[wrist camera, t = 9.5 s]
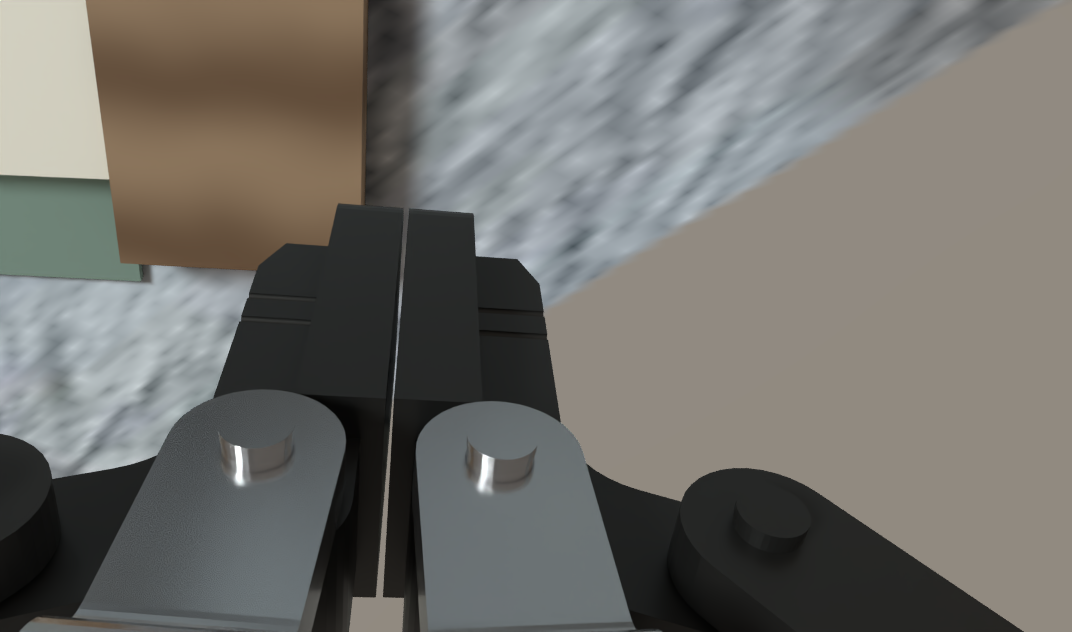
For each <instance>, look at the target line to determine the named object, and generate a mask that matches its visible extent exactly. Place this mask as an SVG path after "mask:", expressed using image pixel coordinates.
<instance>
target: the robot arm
mask: <svg viewBox="0 0 1072 632" xmlns="http://www.w3.org/2000/svg"><path fill="white" fill-rule="evenodd" d="M402 232H403V208H393V207H380V206H367V205H354V204H341V203H338V205H337V208H336V213H335V217H334V222H333V226H332V231H331V235H330V240H329V244H328V246H319V245H305V244H291V243H286V244H285V245H283V246H282V247H281V248H280V249H278V250H277V251H276V252H275V253H273V254H272V255H271V256H270V257H268V258H267V259H266V260H265V261H263V262H262V263H261V264H260V265H259V266H258V268H257V271H256V274H255V277H254V280H253V283H252V286H251V289H250V292H249V298H247V301H246V304H245V307H244V310H243V313H242V315H241V322H240V321H239V324H238V327H237V330H236V333H235V336H234V339H233V342H232V345H231V348H230V351H229V354H228V357H227V359H226V362H225V365H224V368H223V371H222V374H221V377H220V380H219V383H218V386H217V389H216V392H215V395H214V398H213V399H211V400H208V401H206V402H204V403H202V404H200V405H198V406H196V407H194V408H193V409H191V410H190V411H189V412H187V413H186V414H185V415H183V416H182V417H181V418H180V419H179V420H178V421H177V422H176V423H175V424H174V426H173V427H172V429H171V430H170V432H169V434H168V435H167V437H166V439H165V441H164V443H163V445H162V447H161V449H160V451H159V453H158V455H157V456H154V457H152V458H150V459H147V460H144V461H141V462H138V463H135V464H131V465H127V466H123V467H118V468H114V469H108V470H102V471H97V472H91V473H85V474H79V475H73V476H68V477H62V478H56V479H52V475H51V471H50V467H49V464H48V462H47V460H46V459H45V457H44V456H43V454H42V453H41V452H39V451H38V450H37V449H36V448H35V447H34V446H32V445H30V444H29V443H27V442H25V441H23V440H20V439H17V438H15V437H12V436H8V435H3V434H0V632H349V626H350V615H351V608H352V598H353V597H376V587H377V575H378V564H379V552H380V540H381V528H382V516H383V503H384V492H385V480H386V468H387V455H388V444H389V431H390V419H391V407H392V395H393V383H394V370H395V356H396V340H397V323H398V305H399V287H400V269H401V250H402ZM543 312H544V311H543V304H542V298H541V291H540V285H539V283H538V282H537V281H536V280H535V279H534V277H533V276H532V275H531V274H530V273H529V272H528V271H527V270H526V269H525V267H524V266H523V265H522V264H521V263H520V262H519V261H518V260H517V259H506V258H492V257H478V256H476V253H475V231H474V215H473V213H461V212H448V211H435V210H422V209H409V219H408V231H407V243H406V256H405V268H404V281H403V293H402V306H401V318H400V331H399V343H398V356H397V368H396V381H395V393H394V409H393V427H392V445H391V463H390V481H389V499H388V518H387V536H386V553H385V571H384V589H383V597H395V598H404V612H403V613H404V614H403V631H402V632H1023V631H1022V630H1020V629H1019V628H1017V627H1016V626H1014V625H1013V624H1012V623H1010V622H1009V621H1007V620H1006V619H1004V618H1003V617H1001V616H1000V615H998V614H997V613H995V612H994V611H992V610H991V609H989V608H988V607H986V606H985V605H983V604H982V603H980V602H979V601H977V600H976V599H974V598H973V597H971V596H970V595H968V594H967V593H965V592H964V591H963V590H961V589H960V588H958V587H957V586H955V585H954V584H952V583H950V582H949V581H948V580H946V579H945V578H943V577H942V576H940V575H939V574H937V573H936V572H934V571H933V570H931V569H930V568H928V567H927V566H925V565H924V564H922V563H921V562H919V561H918V560H917V559H915V558H914V557H912V556H910V555H909V554H908V553H906V552H905V551H903V550H902V549H900V548H899V547H897V546H896V545H894V544H893V543H891V542H890V541H888V540H887V539H885V538H884V537H882V536H881V535H879V534H878V533H876V532H875V531H873V530H872V529H870V528H869V527H868V526H866V525H864V524H863V523H862V522H860V521H859V520H857V519H856V518H854V517H852V516H851V515H850V514H848V513H847V512H845V511H844V510H842V509H841V508H839V507H838V506H836V505H835V504H833V503H832V502H830V501H829V500H827V499H826V498H824V497H823V496H822V495H820V494H819V493H817V492H815V491H814V490H812V489H810V488H809V487H807V486H805V485H803V484H801V483H799V482H797V481H795V480H793V479H791V478H788V477H785V476H782V475H779V474H776V473H772V472H768V471H764V470H757V469H749V468H732V469H725V470H719V471H716V472H712V473H709V474H707V475H705V476H703V477H701V478H699V479H698V480H697V481H695V482H694V483H693V484H692V485H691V486H690V487H689V488H688V489H687V491H686V492H685V494H684V496H683V499H682V501H681V502H680V501H677V500H673V499H669V498H666V497H662V496H659V495H655V494H651V493H648V492H644V491H640V490H637V489H634V488H631V487H628V486H625V485H622V484H620V483H618V482H616V481H613V480H611V479H609V478H607V477H605V476H604V475H602V474H600V473H599V472H597V471H595V470H594V469H593V468H591V467H590V466H589V465H587V464H586V461H585V458H584V455H583V451H582V449H581V447H580V444H579V442H578V441H577V440H576V438H575V437H574V435H573V434H572V433H571V432H570V431H569V430H568V429H567V428H566V427H565V426H564V425H563V424H561V421H560V414H559V408H558V401H557V395H556V388H555V382H554V375H553V369H552V363H551V357H550V350H549V343H548V340H547V330H546V324H545V318H544V317H543Z"/></svg>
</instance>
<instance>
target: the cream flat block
mask: <svg viewBox="0 0 1072 632" xmlns="http://www.w3.org/2000/svg"><path fill="white" fill-rule="evenodd" d="M0 175H17V176H40V177H64V178H87V179H109V173H108V166H107V158H106V151H105V143H104V136H103V128H102V121H101V113H100V106H99V98H98V91H97V83H96V76H95V68H94V61H93V53H92V46H91V38H90V31H89V23H88V16H87V8H86V1H85V0H0Z"/></svg>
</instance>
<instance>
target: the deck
mask: <svg viewBox="0 0 1072 632" xmlns="http://www.w3.org/2000/svg"><path fill="white" fill-rule="evenodd" d="M85 1H86V8H87V16H88V23H89V31H90V38H91V46H92V53H93V61H94V68H95V76H96V83H97V91H98V98H99V106H100V113H101V121H102V128H103V136H104V143H105V151H106V158H107V166H108V173H109V181H110V188H111V196H112V203H113V211H114V218H115V226H116V233H117V241H118V248H119V256H120V263H125V264H143V265H162V266H181V267H200V268H219V269H237V270H256V271H257V268H258V266H259V265H260V264H261V263H262V262H263V261H265V260H266V259H267V258H268V257H270V256H271V255H272V254H273V253H275V252H276V251H277V250H278V249H280V248H281V247H282V246H283V245H285V244H286V243H291V244H305V245H319V246H328V244H329V240H330V235H331V231H332V226H333V222H334V217H335V213H336V208H337V205H338V203H341V204H354V205H365V182H366V119H367V55H368V0H85Z"/></svg>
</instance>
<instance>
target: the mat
mask: <svg viewBox="0 0 1072 632" xmlns="http://www.w3.org/2000/svg"><path fill="white" fill-rule="evenodd" d="M0 274H4V275H24V276H44V277H63V278H83V279H102V280H122V281H141V280H142V278H143V270H142V264H125V263H120V256H119V248H118V241H117V233H116V226H115V218H114V211H113V203H112V196H111V188H110V181H109V179H87V178H64V177H40V176H17V175H0Z"/></svg>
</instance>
